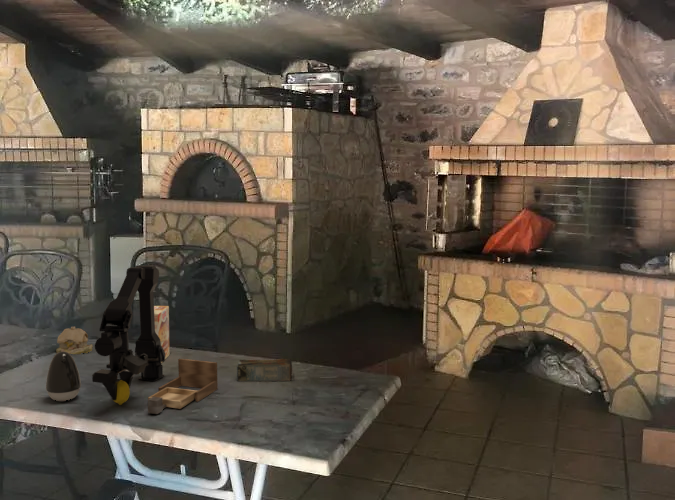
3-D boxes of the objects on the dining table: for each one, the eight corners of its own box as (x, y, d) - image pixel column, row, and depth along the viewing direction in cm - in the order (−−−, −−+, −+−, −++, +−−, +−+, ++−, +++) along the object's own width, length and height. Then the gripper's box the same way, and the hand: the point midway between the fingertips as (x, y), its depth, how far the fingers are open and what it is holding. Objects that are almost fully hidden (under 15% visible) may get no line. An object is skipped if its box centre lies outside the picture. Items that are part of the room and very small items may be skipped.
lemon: (113, 401, 209) (112, 376, 208) (131, 401, 209) (131, 376, 208) (109, 408, 203) (108, 382, 202) (127, 407, 204) (127, 382, 203)
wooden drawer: (136, 411, 200) (135, 398, 199) (166, 393, 216) (166, 381, 215) (169, 415, 196) (169, 402, 196) (198, 397, 212) (197, 385, 212)
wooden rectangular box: (238, 375, 238) (238, 357, 237) (292, 375, 238) (292, 357, 238) (236, 382, 230) (236, 363, 229) (291, 382, 231) (291, 363, 230)
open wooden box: (158, 397, 214) (157, 369, 212) (180, 384, 226) (179, 358, 225) (197, 401, 209) (197, 373, 208) (217, 389, 222) (217, 362, 221)
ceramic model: (50, 354, 261) (49, 329, 260) (63, 347, 272) (62, 323, 271) (86, 355, 261) (85, 330, 259) (97, 347, 272) (96, 323, 271)
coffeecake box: (159, 365, 247) (158, 313, 245) (140, 365, 247) (139, 313, 245) (170, 354, 262) (169, 305, 260) (152, 354, 262) (151, 305, 260)
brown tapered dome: (47, 406, 204) (45, 357, 203) (45, 396, 213) (43, 349, 212) (83, 401, 209) (81, 353, 207) (79, 391, 218) (77, 345, 216)
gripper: (122, 357, 193) (124, 410, 195) (159, 342, 210) (160, 390, 212) (90, 354, 196) (92, 405, 198) (128, 339, 214) (129, 386, 216)
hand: (120, 396), depth 206 cm, fingers closed on lemon, 5 cm apart
